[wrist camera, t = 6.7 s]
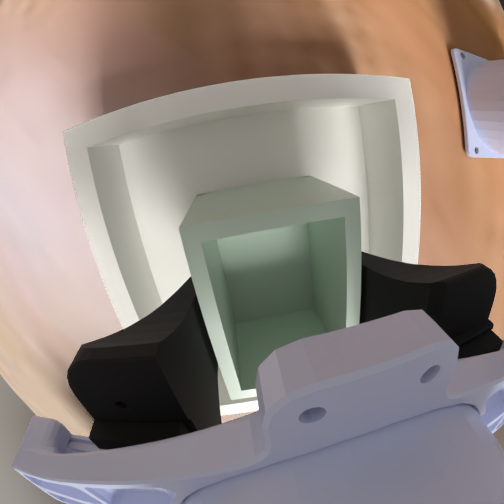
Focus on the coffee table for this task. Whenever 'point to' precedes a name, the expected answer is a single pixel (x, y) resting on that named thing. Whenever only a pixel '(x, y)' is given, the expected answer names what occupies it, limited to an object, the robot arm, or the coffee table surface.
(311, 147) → the white shallow tray
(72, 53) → the coffee table surface
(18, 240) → the coffee table surface
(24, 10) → the coffee table surface
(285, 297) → the small crate
